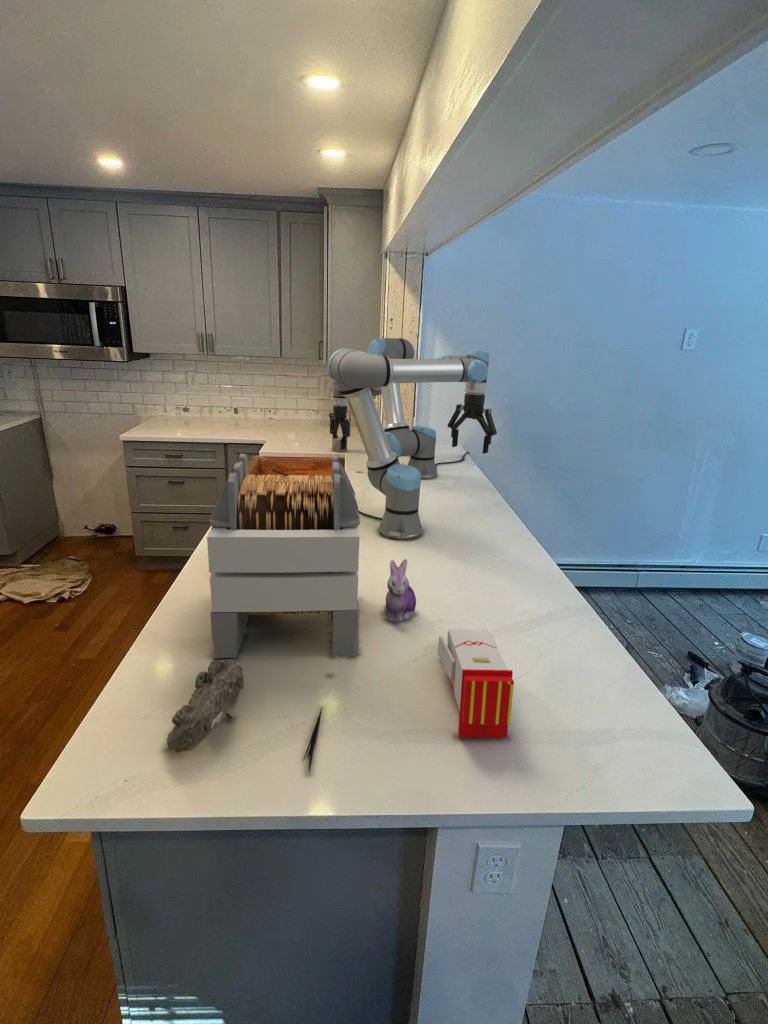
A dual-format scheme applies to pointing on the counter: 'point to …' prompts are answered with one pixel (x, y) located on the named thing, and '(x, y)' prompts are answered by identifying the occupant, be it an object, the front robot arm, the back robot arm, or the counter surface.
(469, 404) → the front robot arm
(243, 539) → the record crate stand
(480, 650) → the toy
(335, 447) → the metal block
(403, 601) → the figurine
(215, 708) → the fossil
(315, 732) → the feather
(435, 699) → the counter surface
